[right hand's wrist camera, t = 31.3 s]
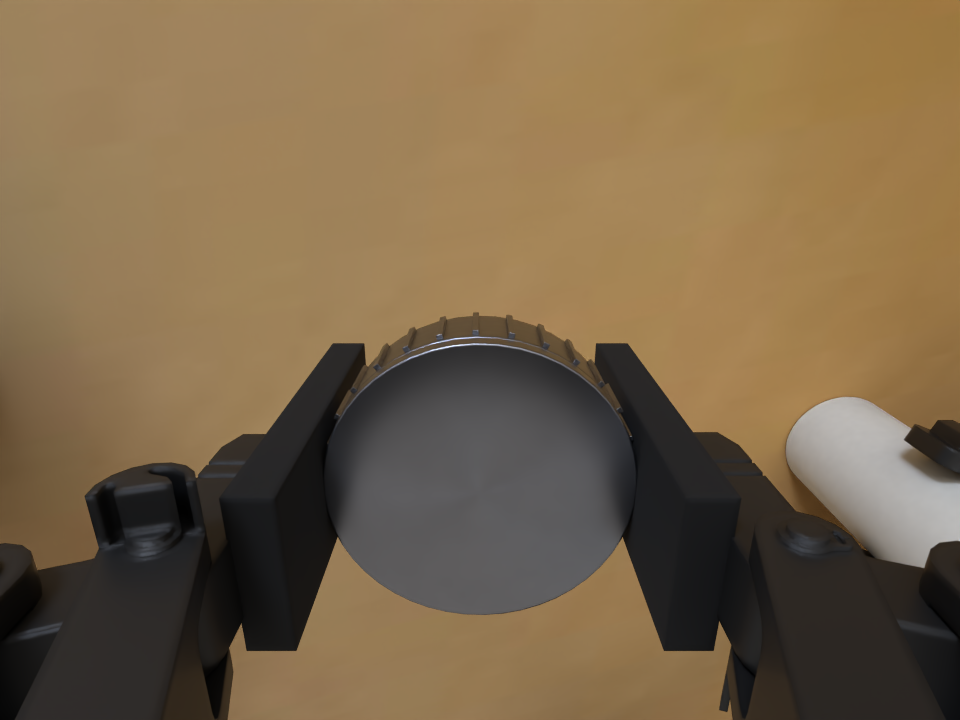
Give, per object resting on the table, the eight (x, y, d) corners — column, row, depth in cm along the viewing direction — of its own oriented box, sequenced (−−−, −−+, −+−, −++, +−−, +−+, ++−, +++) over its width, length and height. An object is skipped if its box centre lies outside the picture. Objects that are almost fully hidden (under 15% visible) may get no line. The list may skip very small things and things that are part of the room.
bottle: (859, 494, 30) (1201, 808, 16) (768, 474, 29) (1039, 780, 15) (906, 408, 28) (1337, 674, 14) (811, 386, 27) (1159, 639, 14)
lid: (322, 314, 11) (296, 343, 9) (629, 307, 11) (654, 334, 9) (353, 564, 13) (336, 621, 11) (613, 559, 13) (631, 615, 11)
